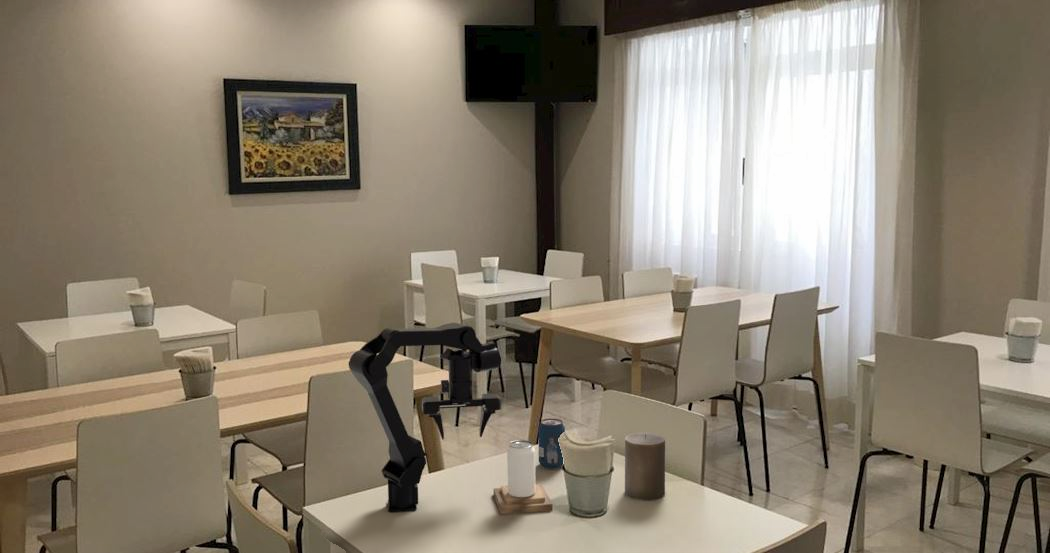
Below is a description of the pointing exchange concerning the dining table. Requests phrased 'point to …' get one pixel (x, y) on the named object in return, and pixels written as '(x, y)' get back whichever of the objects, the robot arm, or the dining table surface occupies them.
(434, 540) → the dining table surface
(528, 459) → the can
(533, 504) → the plinth
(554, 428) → the soda can
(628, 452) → the pillar candle
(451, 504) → the dining table surface
